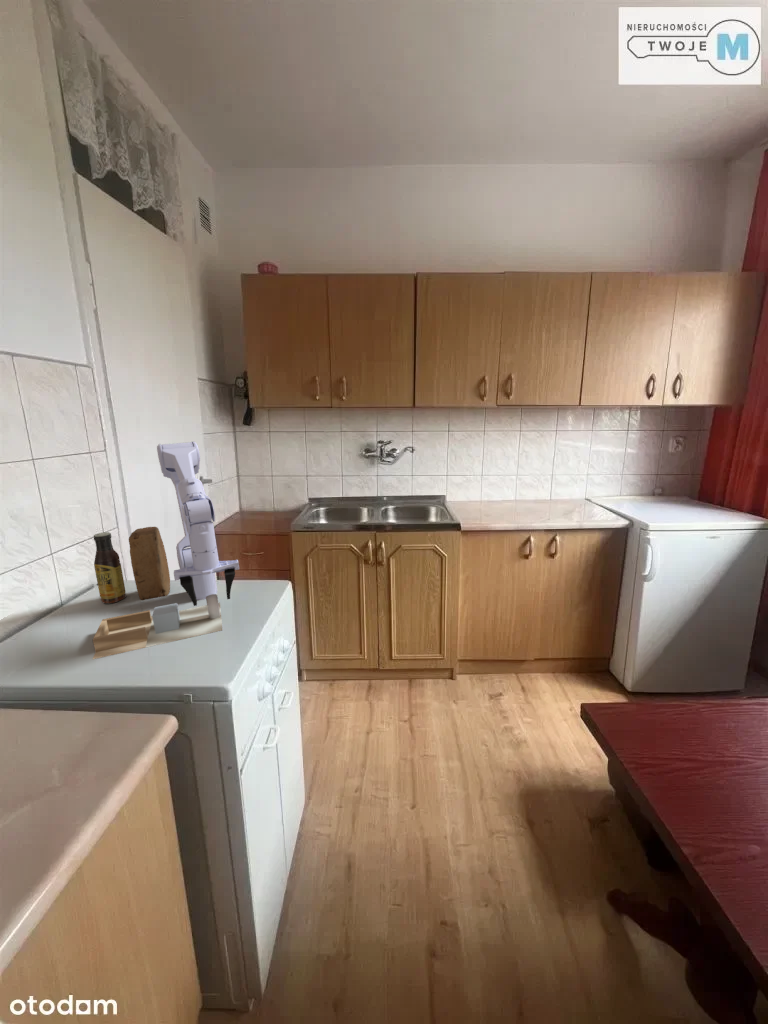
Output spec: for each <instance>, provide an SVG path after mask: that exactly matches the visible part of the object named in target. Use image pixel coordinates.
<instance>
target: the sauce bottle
mask: <svg viewBox="0 0 768 1024" xmlns="http://www.w3.org/2000/svg"><path fill="white" fill-rule="evenodd" d="M93 540H94V542H95V543H94V544H95V548H96V549H95V550H96V551H95V557H94V561H93V565H94V566H93V567H94V572H95V577H96V583H97V587H98V592H99V597H100V600H101V602H102V603H103V604H115V603H118V602H120V601H122V600H124V599H125V598H126V596H127V594H126V585H125V580H124V575H123V570H122V563H121V561H120V556H119V553H118V552H117V551H116V550H115V549H114V547H113V543H112V533H111V532H110V531H109V532H107V531H105V532H98V533H95V534H93Z"/></svg>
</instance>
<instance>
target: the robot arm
mask: <svg viewBox="0 0 768 1024" xmlns="http://www.w3.org/2000/svg"><path fill="white" fill-rule="evenodd" d="M156 451H157V457H158V463H159V466H160V470H161V473H162V475H163V477H165V478H168V479H170V480H171V482H172V484H173V486H174V489H175V493H176V498H177V503H178V509H179V513H180V518H181V523H182V528H183V533H184V537H182V539H180V540H179V541H178V542H177V544H176V557H177V564H178V567H179V569H175V570H173V577H174V581H179V583H180V586H181V587H182V589H184V590H185V592H186V593H187V594H188V596H189V597H190V599H191V601H192V604H193V607H198V606H197V605H198V601H202V600H206V597H207V596H208V595H212V594H216V595H218V586H217V585H218V584H217V580H216V574H215V573H220V572H223V573H224V581H225V591H226V592H225V594H226V599H227V600H230V599H231V590H232V585H233V582H234V580H235V577H236V571H238V570H240V565H239V564H240V563H239V560H238V559H234V560H233V559H232V560H219V553H218V546H217V540H216V534H215V527H214V522H215V520H216V514H215V508H214V503H213V501H212V499H211V497H210V496H209V495H207V494H206V490H205V488H204V484H203V482H202V481H201V480H200V479H199V478H198V477H197V478H196V475H197V474H198V473H199V470H200V461H201V456H200V449H199V446H198V443H197V442H196V441H188V442H174V443H163V444H161V443H159V444H158V445H156Z"/></svg>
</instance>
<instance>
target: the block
mask: <svg viewBox="0 0 768 1024" xmlns="http://www.w3.org/2000/svg"><path fill="white" fill-rule="evenodd" d="M128 543H129V556H130V563H131V567H132V573H133V577H134V583H135V586H136V590H137V594H138V598H139V599H140V601H147V600H151V599H156V598H162V597H167V596H168V595H169V594H170V591H171V576H170V570H169V562H168V558H167V553H166V549H165V545H164V541H163V538H162V536H161V533H160V530H159V527H158V526H146V527H141V528H137V529H135V530H133V532H131V533H130V536H129V537H128Z"/></svg>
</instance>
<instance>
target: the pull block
mask: <svg viewBox="0 0 768 1024" xmlns="http://www.w3.org/2000/svg"><path fill="white" fill-rule="evenodd" d="M218 599H219V598H218V594H212V595H208V596H207V597H206V599H205V600H206V605H207V607H208V613H209V614H207V615H203V616H198V617H193V618H188V619H183V620H180V615H179V611H180V610H179V605H178V602H175V603H171V604H164V605H160V606H155V607H154V608H153V612H152V614H151V616H152V618H153V623H154V628H155V633H156V634H157V633H162V632H166V631H171V630H176V629H179V626H180V624H182V623H187V622H192V621H197V620H201V619H206V618H210V619H217V618H219V617H220V610H219V604H218V603H219V600H218Z"/></svg>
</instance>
